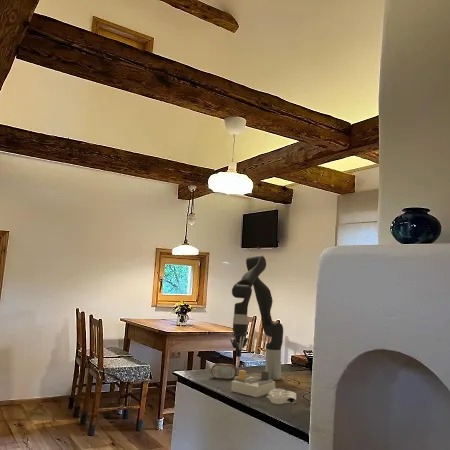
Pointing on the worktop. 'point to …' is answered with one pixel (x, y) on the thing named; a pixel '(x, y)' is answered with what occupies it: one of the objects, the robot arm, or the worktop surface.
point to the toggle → (265, 376)
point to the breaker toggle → (242, 375)
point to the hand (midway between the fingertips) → (238, 356)
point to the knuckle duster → (281, 396)
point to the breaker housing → (253, 386)
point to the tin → (224, 371)
